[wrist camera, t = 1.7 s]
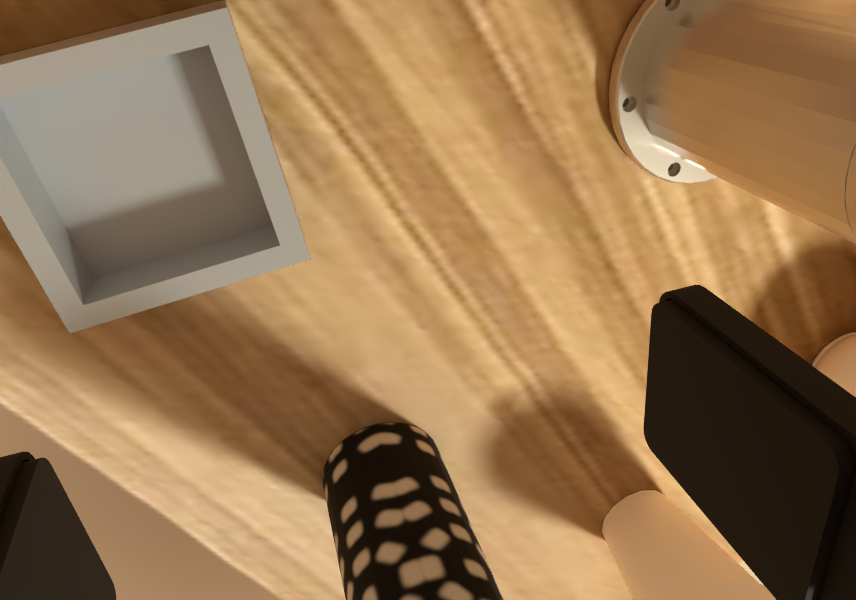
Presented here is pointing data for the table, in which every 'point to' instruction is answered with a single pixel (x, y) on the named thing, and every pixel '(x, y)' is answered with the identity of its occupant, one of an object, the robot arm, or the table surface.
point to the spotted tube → (401, 520)
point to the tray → (141, 167)
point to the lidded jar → (839, 361)
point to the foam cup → (672, 554)
